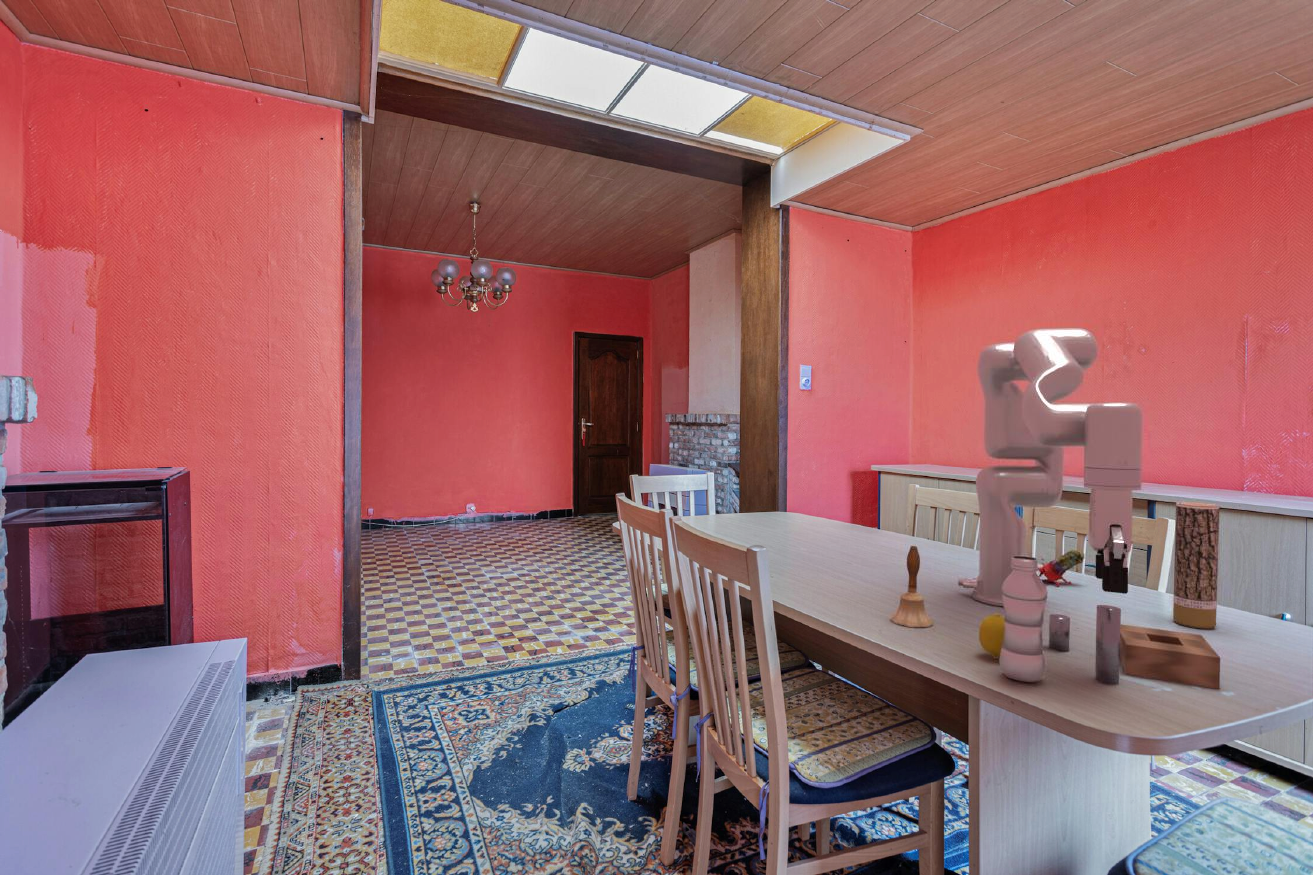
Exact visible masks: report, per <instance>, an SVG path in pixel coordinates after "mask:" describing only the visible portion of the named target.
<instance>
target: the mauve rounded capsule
mask: <svg viewBox="0 0 1313 875" xmlns="http://www.w3.org/2000/svg"><path fill="white" fill-rule="evenodd" d="M1048 618H1049V620H1048V623H1049V624H1048V649H1050V650H1052V651H1055V652H1061V653H1067V652H1070V640H1071V639H1070V633H1071V631H1070V630H1071V617H1069V616H1068V615H1065V614H1058V613H1057V614H1056V613H1052V614H1049V617H1048Z"/></svg>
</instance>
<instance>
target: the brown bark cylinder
mask: <svg viewBox="0 0 1313 875" xmlns="http://www.w3.org/2000/svg"><path fill="white" fill-rule="evenodd" d="M1219 506H1220V505H1218V504H1213V503H1208V502H1207V503H1206V502H1192V501H1191V502H1190V501H1179V502H1178V501H1177V502H1176V503H1175V526H1174V527H1175V529H1174V530H1175V531H1174V564H1173V566H1174V568H1173V569H1174V570H1173V601H1172V602H1173V606H1172V607H1173V610H1172V611H1173V612H1172V617H1173V621H1174V622H1176V623H1177V624H1179V625H1182V626H1185V627H1187V628H1194V629H1201V630H1202V629H1205V630H1206V629H1207V630H1210V629H1213V628H1215V627H1216V625H1217V607H1218V606H1217V605H1218V604H1217V603H1218V575H1219V574H1218V570H1219V536H1220V534H1219V532H1220V507H1219Z"/></svg>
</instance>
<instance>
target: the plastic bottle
mask: <svg viewBox="0 0 1313 875" xmlns="http://www.w3.org/2000/svg"><path fill="white" fill-rule="evenodd" d="M1011 559H1012V564H1011V568H1012V569H1013V571H1012V573H1011V574H1010V575H1009V576H1008V577H1007V578H1006V580H1005V581H1004V582H1003V585H1002V598H1003V605H1004V606H1003V611H1004V612H1003V615H1004V617H1003V618H1004V619H1005V622H1004V623H1005V629H1004V637H1003V645H1002V646H1003V647H1002V649H1001V652H1000V657H999V658H998V660H999V666H1000V667H999V668H1000V670H1001V672H1002V674H1004V676H1006V677H1007V678H1010V679H1012V680H1015V681H1019V682H1025V683H1037V682H1039V681H1041V680H1042V679H1043V678H1044V676H1045V673H1046V668H1047V666H1046V658H1045V653H1044V643H1043V642H1044V641H1043V629H1044V627H1043V624H1044V615H1045V610H1046V604H1047V599H1048V589H1047V586H1046V585H1045V583H1044V582H1043V579H1041V577H1039V575H1038V574H1037V572H1038V567H1039V566H1038V565H1039V564H1038V562H1039V561H1038V558H1036V557H1035V556H1034V557H1033V556H1030V555H1029V556H1028V555H1026V556H1012V558H1011Z"/></svg>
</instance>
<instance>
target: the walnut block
mask: <svg viewBox="0 0 1313 875" xmlns="http://www.w3.org/2000/svg"><path fill="white" fill-rule="evenodd" d="M1120 665H1121V666H1122V668H1123V671H1124V674H1126V675H1132V676H1136V677H1137V676H1139V677H1142V678H1143V677H1144V678H1150V679H1155V680H1161V681H1167V682H1174V683H1180V684H1184V685H1185V684H1187V685H1193V686H1198V687H1205V688H1211V689H1217V690H1220V686H1221V685H1220V682H1221V680H1220V679H1221V675H1220V674H1221V657H1220V656H1219V655H1218V653H1217V652H1216V651H1215V649H1214V648H1213V647H1212V646H1211V645H1210V643H1209V642H1208V641H1207V640H1206V639H1205V637H1204V636H1203V635H1202V634H1199V633H1198V634H1196V633H1189V632H1182V631H1181V632H1180V631H1174V630H1173V631H1172V630H1165V629H1159V628H1151V627H1143V626H1135V625H1128V624H1121V629H1120Z"/></svg>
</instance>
